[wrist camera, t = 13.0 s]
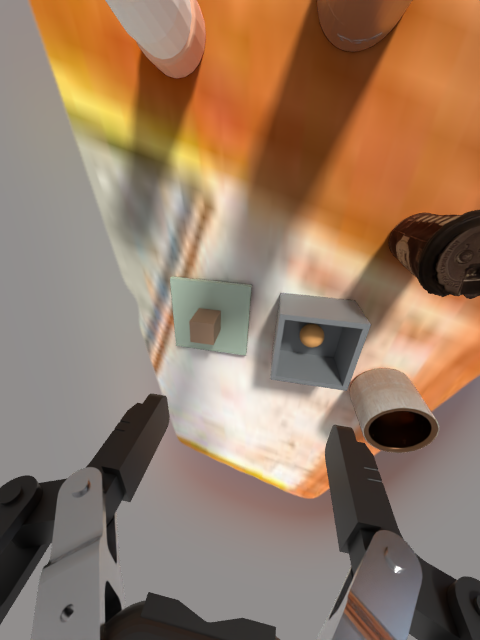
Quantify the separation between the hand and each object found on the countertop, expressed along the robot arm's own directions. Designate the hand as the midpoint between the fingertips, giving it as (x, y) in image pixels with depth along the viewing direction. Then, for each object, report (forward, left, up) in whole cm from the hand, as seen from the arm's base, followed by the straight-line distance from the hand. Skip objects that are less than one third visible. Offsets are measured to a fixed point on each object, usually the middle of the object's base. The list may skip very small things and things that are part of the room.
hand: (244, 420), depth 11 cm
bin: (+11, +8, -30) cm, 33 cm away
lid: (+11, -10, -30) cm, 33 cm away
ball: (+11, +8, -28) cm, 31 cm away
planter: (+22, +23, -30) cm, 44 cm away
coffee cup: (-5, +19, -30) cm, 36 cm away
